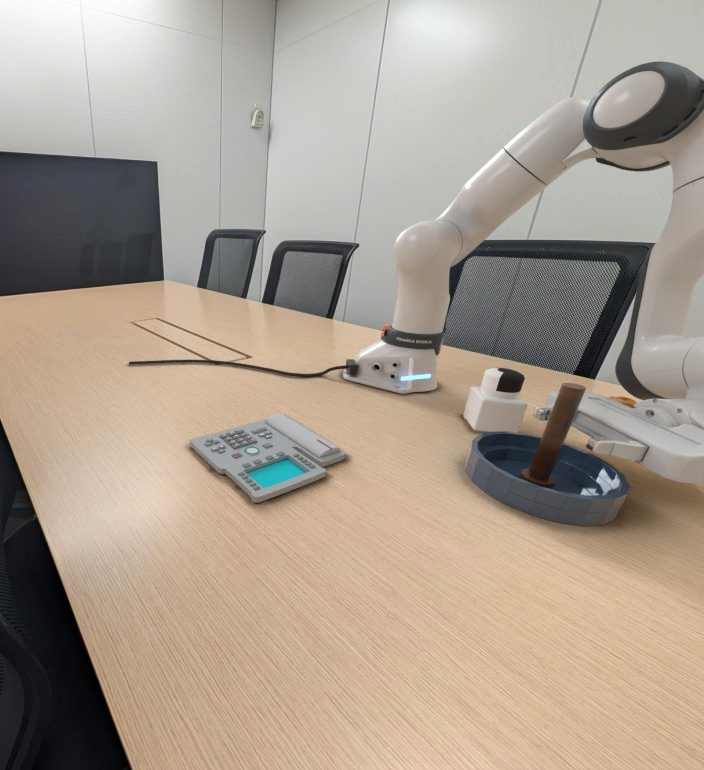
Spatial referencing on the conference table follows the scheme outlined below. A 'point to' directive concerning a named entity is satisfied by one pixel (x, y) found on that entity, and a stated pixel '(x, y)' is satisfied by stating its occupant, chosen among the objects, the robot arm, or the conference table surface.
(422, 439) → the conference table surface
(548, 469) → the stirring stick
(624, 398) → the pastry
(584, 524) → the bowl
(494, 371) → the medicine bottle
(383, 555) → the conference table surface
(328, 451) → the office telephone
